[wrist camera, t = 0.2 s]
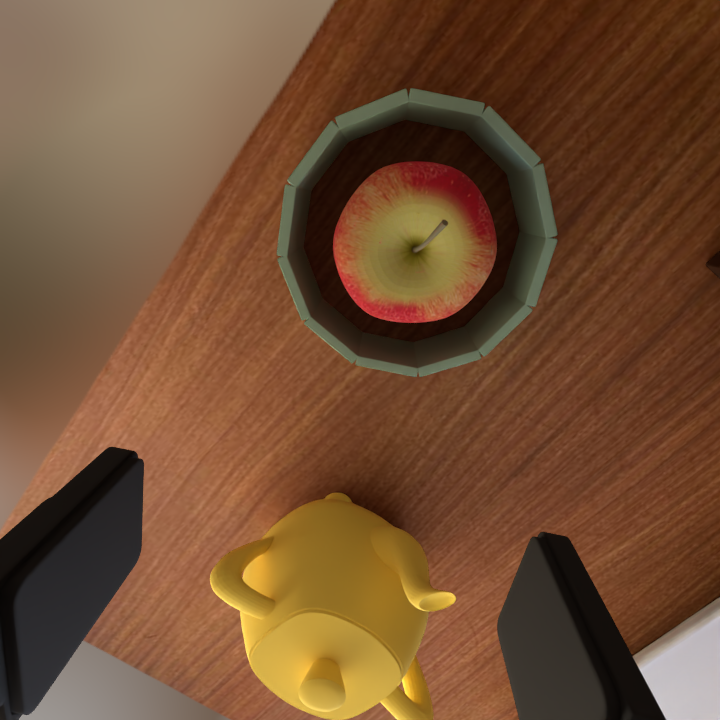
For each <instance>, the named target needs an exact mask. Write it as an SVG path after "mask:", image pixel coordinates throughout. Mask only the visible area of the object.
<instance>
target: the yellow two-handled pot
mask: <svg viewBox="0 0 720 720" xmlns="http://www.w3.org/2000/svg"><path fill="white" fill-rule="evenodd" d="M244 569H245V571H244ZM243 571H244V574H243V579H242V572H243ZM210 582H211V587H212V589H213V590H214V592H215V593H216V594H217V595H218V597H220V598H221V599H222V600H223V601H225V602H226V603H228V604H229V605H231V606H233V607H234V608H236V609H238V610H240V616H241V624H242V630H243V636H244V642H245V647H246V652H247V656H248V659H249V663H250V666H251V668H252V670H253V671H254V673H255V674H256V676H257V677H258V678H259V679H260V680H261V681H262V682H263V683H264V685H265V686H267V687H268V688H269V689H270V690H271V691H272V692H273V693H275V694H276V695H277V696H278V697H280V698H281V699H283V700H284V701H286V702H287V703H289V704H291V705H292V706H294V707H296V708H298V709H300V710H303V711H305V712H307V713H310V714H312V715H315V716H318V717H322V718H325V719H331V720H345V719H349V718H352V717H354V716H357V715H359V714H361V713H363V712H365V711H367V710H368V709H370V708H371V707H373V706H375V705H376V704H377V703H379V702H381V703H382V704H383V705H384V706H385V708H386V709H387V710H388V711H389V712H390V713H391V714H392V715H393V716H394V717H395V718H396V719H397V720H433V707H432V702H431V697H430V694H429V690H428V687H427V683H426V680H425V678H424V675H423V672H422V670H421V667H420V665H419V662H418V660H417V657H416V652H417V650H418V648H419V646H420V643H421V641H422V638H423V635H424V632H425V628H426V624H427V620H428V614H429V611H437V610H441V609H444V608H446V607H449V606H450V605H452V604H453V603H454V602H455V600H456V597H455V595H454V594H452V593H450V592H447V591H443V590H437V589H434V588H432V587H431V585H430V580H429V569H428V561H427V558H426V555H425V553H424V550H423V548H422V547H421V545H420V544H419V543H418V542H417V541H416V540H415V539H414V538H413V537H412V536H411V535H410V534H409V533H407V532H406V531H404V530H401V529H399V528H396V527H394V526H392V525H391V524H390V523H388V522H387V521H386V520H384V519H383V518H381V517H380V516H378V515H376V514H375V513H373V512H371V511H369V510H367V509H365V508H363V507H361V506H358V505H356V504H353V503H352V501H351V499H350V498H349V497H348V496H347V495H345V494H343V493H331V494H329V495H327V496H326V497H325V499H320V500H315V501H312V502H309V503H307V504H304V505H302V506H300V507H299V508H297V509H295V510H293V511H292V512H290V513H289V514H287V515H286V516H285V517H283V518H282V519H280V520H279V521H278V522H277V523H276V524H275V525H273V526H272V527H271V528H270V530H269V531H268V532H267V533H266V534H265V535H264V536H263V537H262V538H261V539H260V540H257V541H254V542H251V543H248V544H246V545H243V546H241V547H238V548H236V549H234V550H232V551H231V552H229V553H227V554H226V555H225V556H224V557H223V558H221V559H220V561H219V562H218V563H217V564H216V565H215V566H214V568H213V570H212V572H211V576H210ZM401 681H402V682H403V686H404V690H405V693H404V692H403V691H402V690H401V689H400V688H399V687H398V685H399V684H400V683H401Z"/></svg>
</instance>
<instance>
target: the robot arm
mask: <svg viewBox="0 0 720 720" xmlns="http://www.w3.org/2000/svg"><path fill="white" fill-rule="evenodd" d="M143 477H144V462H143V460H142V459H139V458H138V455H137V453H136V452H135V451H131V450H126V449H121V448H116V447H109V448H107V449H106V450H105V451H104V452H102V453H101V454H100V455H99V456H98V457H97V458H96V459H94V460H93V461H92V462H91V463H90V464H89V465H88V466H87V467H85V468H84V469H83V470H82V471H81V472H80V473H79V474H78V475H76V476H75V477H74V478H73V479H72V480H71V481H70V482H68V483H67V484H66V485H65V486H64V487H63V488H62V489H61V490H59V491H58V492H57V493H56V494H55V495H54V496H53V497H51V498H48V499H47V500H45V501H44V502H42V503H41V504H40V505H39V506H38V507H37V508H36V509H34V510H33V511H32V512H31V513H30V514H29V515H28V516H26V517H25V518H24V519H23V520H22V521H21V522H20V523H19V524H17V525H16V526H15V527H14V528H13V529H12V530H11V531H9V532H8V533H7V534H6V535H5V536H4V537H3V538H1V539H0V720H19V718H20V717H21V715H22V714H24V715H29V714H30V713H31V712H33V711H34V710H35V708H36V707H37V706H38V704H39V703H40V702H41V700H42V699H43V697H44V696H45V694H46V693H47V691H48V690H49V689H50V687H51V686H52V684H53V683H54V681H55V680H56V678H57V677H58V675H59V674H60V673H61V671H62V670H63V668H64V667H65V665H66V664H67V663H68V661H69V660H70V658H71V657H72V655H73V654H74V652H75V651H76V649H77V648H78V647H79V645H80V644H81V642H82V641H83V639H84V638H85V637H86V635H87V634H88V632H89V631H90V629H91V628H92V626H93V625H94V624H95V622H96V621H97V619H98V618H99V616H100V615H101V613H102V612H103V611H104V609H105V608H106V606H107V605H108V603H109V602H110V600H111V599H112V598H113V596H114V595H115V593H116V592H117V590H118V589H119V587H120V586H121V585H122V583H123V582H124V580H125V579H126V577H127V576H128V574H129V573H130V572H131V570H132V569H133V567H134V566H135V564H136V563H137V561H138V558H139V556H140V552H141V546H142V512H143ZM497 630H498V637H499V641H500V645H501V649H502V653H503V657H504V661H505V665H506V669H507V672H508V676H509V680H510V684H511V688H512V692H513V696H514V700H515V704H516V708H517V712H518V716H519V720H666V718H665V716H664V714H663V712H662V711H661V709H660V707H659V705H658V703H657V701H656V699H655V697H654V696H653V694H652V692H651V690H650V688H649V686H648V684H647V683H646V681H645V679H644V677H643V675H642V673H641V671H640V670H639V668H638V666H637V664H636V662H635V660H634V658H633V656H632V655H631V653H630V651H629V649H628V647H627V645H626V643H625V642H624V640H623V638H622V636H621V634H620V632H619V630H618V629H617V627H616V625H615V623H614V621H613V619H612V617H611V615H610V614H609V612H608V610H607V608H606V606H605V604H604V602H603V601H602V599H601V597H600V595H599V593H598V591H597V589H596V587H595V586H594V584H593V582H592V580H591V578H590V576H589V574H588V573H587V571H586V569H585V567H584V565H583V563H582V561H581V560H580V558H579V556H578V554H577V552H576V550H575V548H574V546H573V545H572V543H571V541H570V540H569V538H568V537H566V536H561V535H556V534H551V533H546V532H541V533H540V534H539V535H538V537H532V538H531V539H530V541H529V543H528V546H527V548H526V551H525V553H524V556H523V558H522V561H521V563H520V566H519V568H518V571H517V573H516V576H515V578H514V581H513V583H512V586H511V588H510V591H509V593H508V596H507V598H506V601H505V603H504V606H503V608H502V611H501V613H500V616H499V619H498V625H497Z"/></svg>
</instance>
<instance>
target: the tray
mask: <svg viewBox="0 0 720 720" xmlns="http://www.w3.org/2000/svg"><path fill="white" fill-rule="evenodd" d="M633 658H634V660H635V662H636V664H637V666H638V668H639V670H640V671H641V673H642V675H643V677H644V679H645V681H646V683H647V684H648V686H649V688H650V690H651V692H652V694H653V696H654V697H655V699H656V701H657V703H658V705H659V707H660V709H661V711H662V712H663V714H664V716H665V718H666V720H720V597H719V598H717V599H716V600H715V601H713V602H712V603H710V604H709V605H707V606H706V607H704V608H703V609H701V610H700V611H698V612H697V613H695V614H694V615H692V616H691V617H689V618H688V619H686V620H685V621H684V622H682V623H681V624H679V625H678V626H676V627H675V628H673V629H672V630H670V631H669V632H667V633H666V634H665V635H663V636H662V637H660V638H659V639H657V640H656V641H654V642H653V643H651V644H650V645H648V646H647V647H645V648H644V649H643V650H641V651H640V652H638V653H637V654H635V655H634V656H633Z"/></svg>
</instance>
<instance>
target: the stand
mask: <svg viewBox="0 0 720 720" xmlns="http://www.w3.org/2000/svg"><path fill="white" fill-rule="evenodd" d="M706 266H707V267H708V268H709V269H710V270H711V271H712V272H713V273H715V274H716V275H717V276H718V277H719V278H720V251H719V252H718V253H717V254H716V255H715V256H714V257H712V258H711V259H710V260H709V261H708V262H707V263H706Z"/></svg>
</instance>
